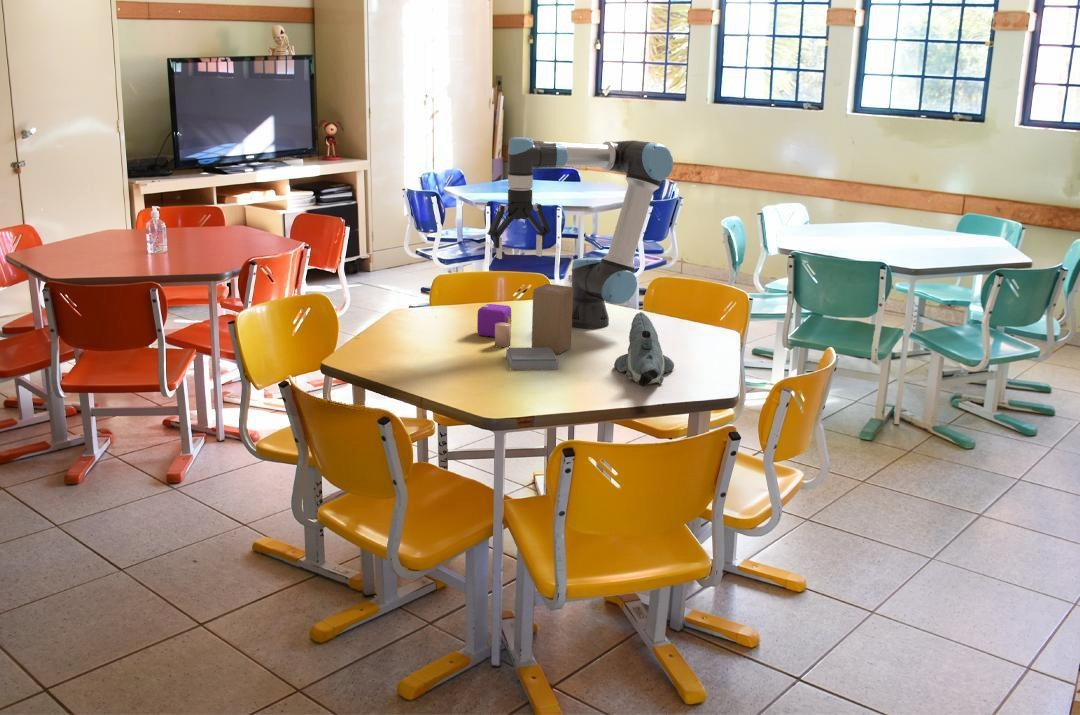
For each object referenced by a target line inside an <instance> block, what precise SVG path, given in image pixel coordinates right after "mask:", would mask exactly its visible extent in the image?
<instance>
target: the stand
mask: <svg viewBox="0 0 1080 715" xmlns="http://www.w3.org/2000/svg"><path fill="white" fill-rule="evenodd" d="M505 349H506V353H505V354H506V356H505V357H506V360H507V363H508V367H509V369H510V368H511V369H532V370H558V369H559V360H558V359H557V357H556V354H554V352H553V350H552V349H551V348H532V347H508V348H505ZM511 369H510V370H511Z"/></svg>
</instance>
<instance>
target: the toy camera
mask: <svg viewBox="0 0 1080 715" xmlns="http://www.w3.org/2000/svg"><path fill="white" fill-rule="evenodd" d="M476 321H477V323H476V324H477V326H476V328H477V334H478V335H479V336H481V337H488V336H490V337H492V338H495V324H496V323H509V324H511V325H512V307H511V306H510V305H504V304H495V303H494V304H493V303H486V304H484V305H482V306H481V307H480V308H478V309H477V320H476Z"/></svg>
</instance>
